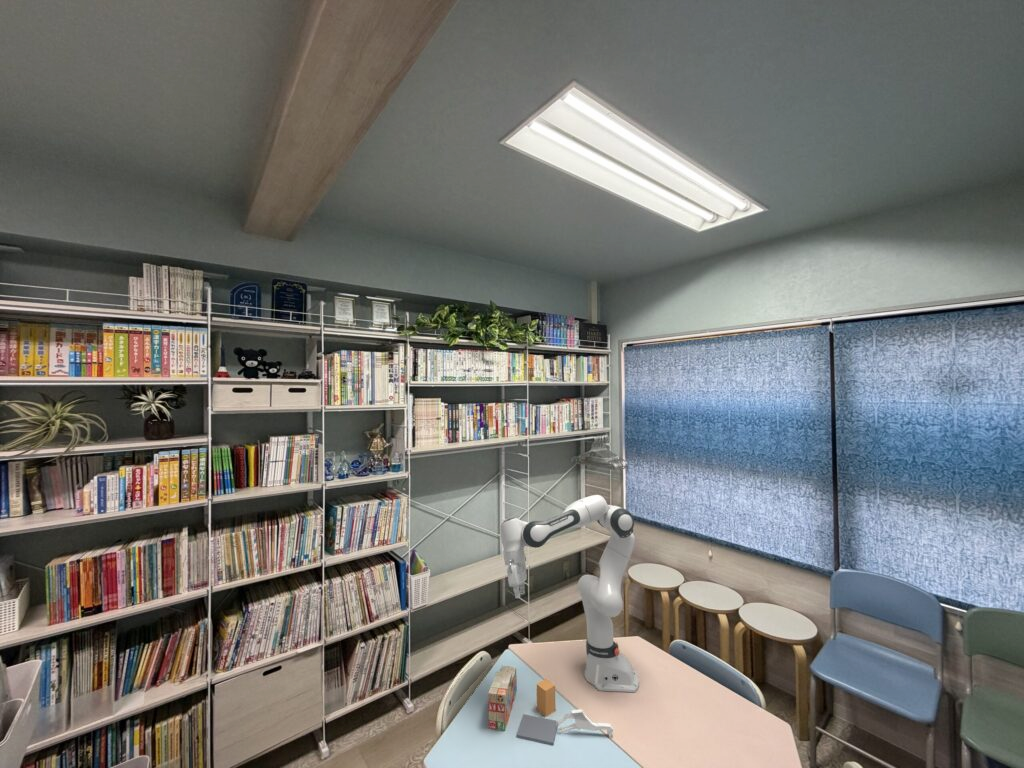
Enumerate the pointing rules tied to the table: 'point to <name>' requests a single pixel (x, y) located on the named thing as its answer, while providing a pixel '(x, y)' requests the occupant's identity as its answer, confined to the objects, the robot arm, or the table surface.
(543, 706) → the orange block
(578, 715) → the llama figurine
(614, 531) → the robot arm
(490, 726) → the stack of blocks
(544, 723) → the slate mat
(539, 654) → the table surface
